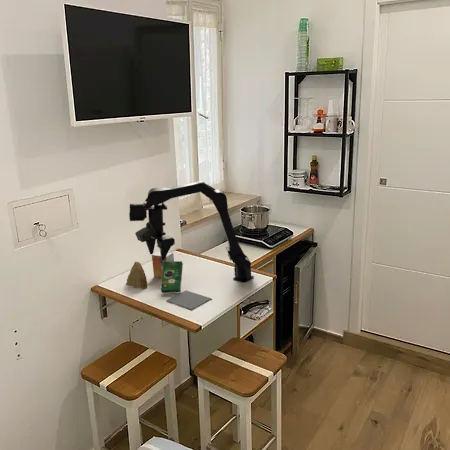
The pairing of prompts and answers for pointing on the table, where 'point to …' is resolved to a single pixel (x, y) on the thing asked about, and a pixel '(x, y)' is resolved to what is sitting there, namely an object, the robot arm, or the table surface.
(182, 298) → the mat
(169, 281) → the coffee box
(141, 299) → the table surface
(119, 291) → the table surface
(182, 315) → the table surface
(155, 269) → the small box
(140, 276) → the rock
